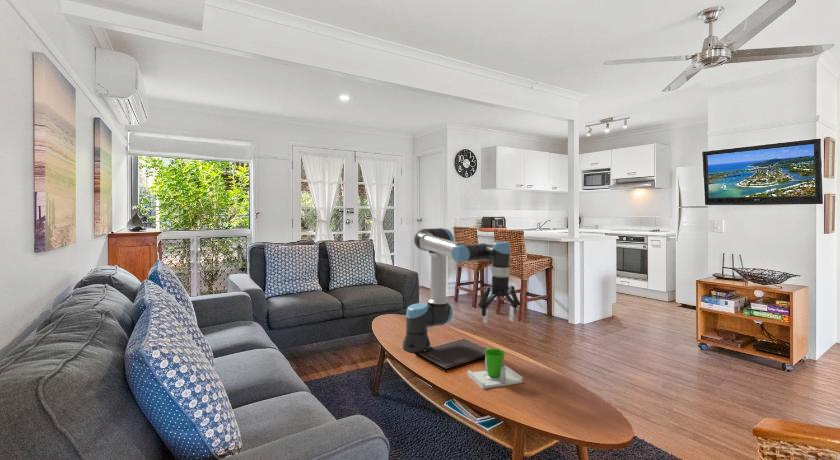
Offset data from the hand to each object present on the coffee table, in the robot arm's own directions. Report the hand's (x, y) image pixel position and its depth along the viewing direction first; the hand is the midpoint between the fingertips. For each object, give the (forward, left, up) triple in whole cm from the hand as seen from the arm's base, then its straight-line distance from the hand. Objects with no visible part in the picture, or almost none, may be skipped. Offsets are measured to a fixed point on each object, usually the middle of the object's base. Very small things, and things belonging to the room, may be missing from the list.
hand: (498, 321), depth 185 cm
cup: (+4, -4, -24) cm, 24 cm away
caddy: (+4, -3, -25) cm, 25 cm away
